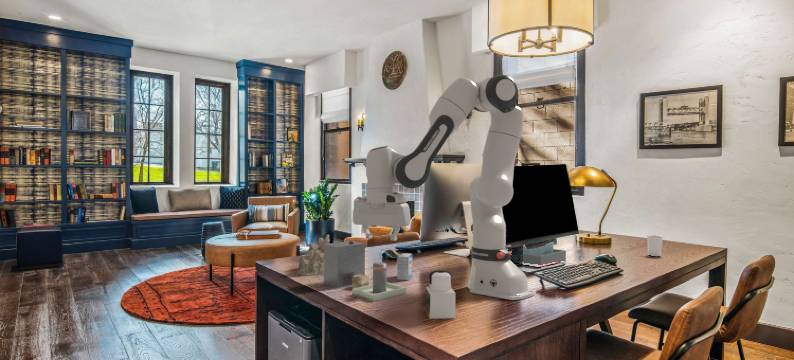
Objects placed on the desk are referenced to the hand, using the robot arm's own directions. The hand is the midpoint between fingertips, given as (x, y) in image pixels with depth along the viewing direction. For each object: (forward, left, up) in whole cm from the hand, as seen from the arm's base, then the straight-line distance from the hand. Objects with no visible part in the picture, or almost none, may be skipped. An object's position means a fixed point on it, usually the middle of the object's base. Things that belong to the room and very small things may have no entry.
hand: (381, 239), depth 144 cm
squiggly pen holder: (-3, -89, -18) cm, 91 cm away
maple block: (+11, -1, -18) cm, 21 cm away
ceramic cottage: (+44, -3, -18) cm, 48 cm away
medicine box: (+11, -22, -18) cm, 30 cm away
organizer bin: (-7, -88, -18) cm, 90 cm away
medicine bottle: (-27, +1, -18) cm, 32 cm away
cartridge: (0, 0, -17) cm, 17 cm away
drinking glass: (-36, -146, -18) cm, 151 cm away
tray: (0, 0, -18) cm, 18 cm away
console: (+19, 0, -18) cm, 26 cm away
